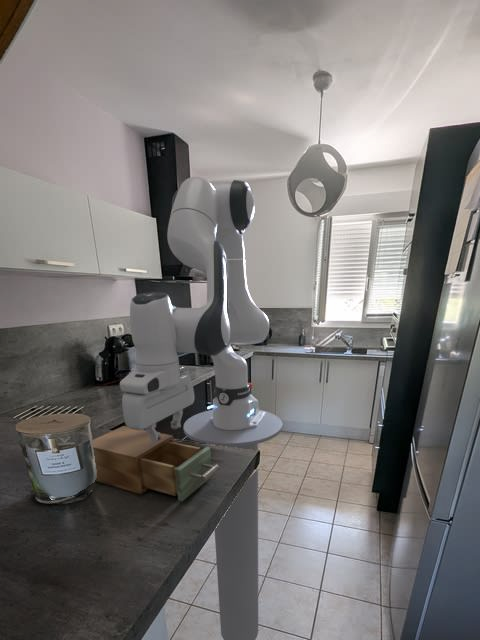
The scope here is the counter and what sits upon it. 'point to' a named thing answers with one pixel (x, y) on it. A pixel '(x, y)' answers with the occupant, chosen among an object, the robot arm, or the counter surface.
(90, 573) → the counter surface
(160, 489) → the drawer
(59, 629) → the counter surface
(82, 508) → the counter surface
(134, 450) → the cabinet
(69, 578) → the counter surface
